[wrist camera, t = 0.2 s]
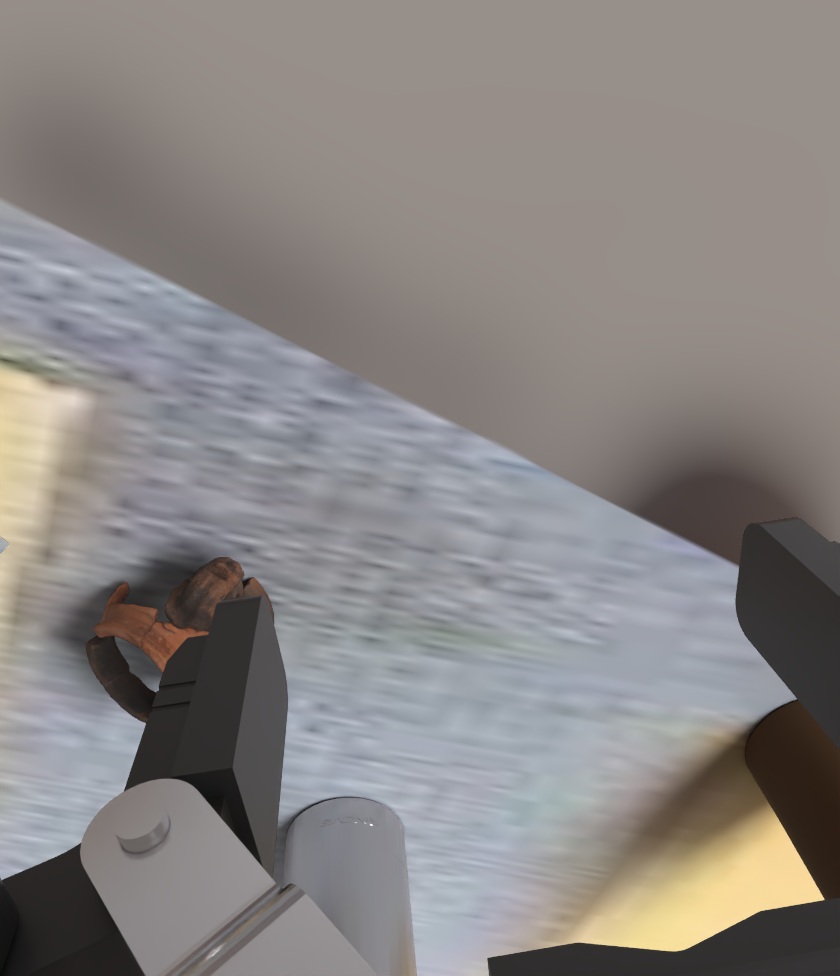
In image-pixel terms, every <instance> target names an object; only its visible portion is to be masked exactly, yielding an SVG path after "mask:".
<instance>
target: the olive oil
mask: <svg viewBox="0 0 840 976" xmlns="http://www.w3.org/2000/svg"><path fill="white" fill-rule="evenodd" d="M745 759H746V763H747V766H748V768H749V770H750V772H751V774H752V775H753V777H754V779H755V781H756V782H757V784H758V786H759V787H760V789H761V791H762V792H763V794H764V796H765V797H766V799H767V801H768V802H769V804H770V806H771V807H772V809H773V811H774V812H775V814H776V816H777V817H778V819H779V821H780V822H781V824H782V826H783V827H784V829H785V831H786V833H787V834H788V836H789V838H790V840H791V841H792V843H793V845H794V847H795V848H796V850H797V852H798V853H799V855H800V857H801V859H802V860H803V862H804V864H805V866H806V867H807V869H808V871H809V873H810V874H811V876H812V878H813V880H814V881H815V883H816V885H817V887H818V888H819V890H820V892H821V894H822V895H823V897H824V899H825V900H829V899H835V898H840V750H839V748H838V747H837V746H836V745H835V744H834V742H833V741H832V740H831V739H830V738H829V736H828V735H827V734H826V733H825V732H824V730H823V729H822V728H821V727H820V725H819V724H818V723H817V722H816V721H815V719H814V718H813V717H812V716H811V715H810V713H809V712H808V711H807V710H806V709H805V707H804V706H803V705H802V704H801V703H800V701H799V700H798V701H795V702H792V703H789V704H787V705H785V706H783V707H781V708H779V709H778V710H776V711H775V712H773V713H772V714H770V715H769V716H768V717H766V718H765V719H764V720H763V721H762V722H761V723H760V724H759V725H758V726H757V728H756V729H755V730H754V732H753V733H752V735H751V736H750V738H749V741H748V743H747V746H746V751H745Z"/></svg>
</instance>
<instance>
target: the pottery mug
mask: <svg viewBox="0 0 840 976" xmlns="http://www.w3.org/2000/svg"><path fill="white" fill-rule="evenodd" d="M243 576H244V572H243V570H242V568H241V566H240V564H239V563H238V562H236V561H234V560H232V559H231V558H229V557H219V558H216V559H214V560H212V561H210V562H209V563H208V564H206V565H205V566H203V567H201V568H200V569H199V570H198V571H197V573H196V574H194V575H193V577H192V578H191V579H187V580H185V581H184V582H183V583H182V584H181V585H179V586H178V587H176V588H175V589H174V590H173V591H172V592H171V594H170V597H169V600H168V602H167V604H166V606H165V614H166V616H167V618H168V619H169V620H170V621H171V622H169V623H164V622H159V621H158V620H157V619H158V615H159V611H158V609H156V608H152V607H145V606H140V605H135V604H128V605H126V604H121V603H122V602H123V601H124V600H125V599H126V597H127V596H128V592H129V588H128V583H127V582H124V583H123V584H122V585H121V586H119V587H118V588H117V589H116V591H115V593H114V594H113V595H111V597H110V598H109V600H108V603H107V606H106V608H105V610H104V613H103V616H102V622H101V623H99V624H97V625H96V626H94V631H95V632H96V634H97V636H96V637H94V638H92V639H91V640H90V641H88V642H87V643H86V650H87V656H88V659H89V662H90V665H91V667H92V669H93V672H94V674H95V675H96V677H97V679H98V680H99V681H100V683H101V684H102V685H103V686H104V688H105V690H106V691H107V692H108V694H109V695H110V697H111V698H113V699H114V700H115V701H116V702H117V703H118V704H119V705H120V706H121V707H122V708H123V709H124V710H125V711H127V712H128V713H129V714H130V715H132V716H133V717H135V718H137V719H138V720H140V721H142V722H145V723H147V720H148V717H149V714H150V712H152V705H153V702H154V699H155V696H156V693H155V692H154V691H152V690H150V689H149V688H147V686H146V685H145V684H144V683H143V682H142V681H141V680H140V679H139V678H138V677H136V676H135V675H134V674H131V673H130V672H129V665H128V663H127V662H126V660H125V658H124V657H123V656H122V654H121V652H120V651H119V649H118V647H117V645H116V643H115V638H114V636H117V637H119V638H122V639H125V640H127V641H128V642H130V643H132V644H134V645H136V646H137V647H139V648H141V649H142V650H143V651H144V652H145V653H146V654H147V655H148V656H149V657H150V658H151V659H152V660H153V662H154V663H155V664H156V665H157V667H158V668H159V669H160V670H161V672H162V673H163V671H164V668H165V665H166V662H167V660H168V659H169V658H170V657H171V656H172V655H173V654H174V652H175V651H176V650H177V649H178V648H179V647H180V645H181V644H182V643H183V642H184V641H185V640H186V639H187V638H188V637H195V636H202V635H208V634H209V630H210V626H211V622H212V618H213V615H214V611H215V607H216V604H217V603H218V602H219V601H225V600H232V599H239V598H246V597H253V596H260V595H265V596H266V598H267V600H268V603H269V607H270V611H271V615H272V619H273V623H274V612H273V609H272V606H271V602H270V600H269V597H268V595H267V593H266V592H265V591H264V589H263V588H262V586H261V585H260V584H259V582H258V581H257V580H256V579H255V578H250V579H249V580H248V581H247V584H246V585H245V586H244V587H243V584H242V579H243Z"/></svg>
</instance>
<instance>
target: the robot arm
mask: <svg viewBox="0 0 840 976" xmlns="http://www.w3.org/2000/svg"><path fill="white" fill-rule="evenodd" d="M736 612H737V617H738V621H739V624H740V626H741V628H742V631H743V632H744V634H745V636H746V637H747V638H748V640H749V641H750V642H751V643H752V645H753V646H754V647H755V648H756V649H757V651H758V652H759V653H760V654H761V655H762V657H763V658H764V659H765V660H766V661H767V663H768V664H769V665H770V666H771V667H772V669H773V670H774V671H775V672H776V674H777V675H778V676H779V677H780V678H781V680H782V681H783V682H784V683H785V684H786V686H787V687H788V688H789V689H790V690H791V692H792V693H793V694H794V695H795V696H796V698H797V699H798V700H799V701H800V703H801V704H802V705H803V706H804V707H805V709H806V710H807V711H808V712H809V713H810V715H811V716H812V717H813V718H814V719H815V721H816V722H817V723H818V724H819V725H820V727H821V728H822V729H823V730H824V732H825V733H826V734H827V735H828V736H829V738H830V739H831V740H832V741H833V742H834V744H835V745H836V746H837V747H838V748H839V750H840V544H839V543H837V542H835V541H834V542H829V541H828V540H827V539H826V538H824V537H823V536H822V535H821V534H819V533H818V532H817V531H816V530H815V529H813V528H812V527H811V526H810V525H808V524H807V523H806V522H805V521H803V520H802V519H800V518H798V517H791V518H784V519H777V520H771V521H764V522H756V523H751V524H749V525H748V526H747V527H746V529H745V531H744V534H743V540H742V549H741V557H740V566H739V575H738V583H737V592H736ZM287 711H288V692H287V682H286V675H285V669H284V665H283V661H282V657H281V652H280V648H279V644H278V640H277V636H276V632H275V627H274V623H273V619H272V615H271V611H270V607H269V603H268V600H267V598H266V596H265V595H260V596H253V597H246V598H239V599H232V600H225V601H219V602H218V603H217V604H216V607H215V611H214V615H213V618H212V622H211V626H210V630H209V634H208V635H202V636H195V637H188V638H187V639H186V640H185V641H184V642H183V643H182V644H181V645H180V647H179V648H178V649H177V650H176V651H175V652H174V654H173V655H172V656H171V657H170V658H169V659H168V660H167V662H166V665H165V668H164V671H163V674H162V677H161V681H160V684H159V691H157V693H156V696H155V699H154V702H153V705H152V712H150V714H149V717H148V720H147V723H146V726H145V729H144V732H143V735H142V738H141V741H140V744H139V747H138V750H137V753H136V756H135V759H134V762H133V765H132V768H131V772H130V775H129V778H128V781H127V784H126V787H125V790H124V792H123V793H121V794H119V795H118V796H117V797H115V798H114V799H112V800H111V801H110V802H109V803H108V804H106V805H105V806H104V807H103V808H102V809H101V810H100V811H99V812H98V814H97V815H96V816H95V817H94V818H93V820H92V821H91V823H90V824H89V826H88V828H87V830H86V832H85V834H84V836H83V839H82V842H81V843H80V844H79V845H77V846H75V847H74V848H72V849H70V850H69V851H67V852H65V853H63V854H61V855H59V856H57V857H55V858H53V859H50V860H48V861H46V862H43V863H41V864H39V865H36V866H34V867H32V868H29V869H27V870H25V871H22V872H20V873H18V874H15V875H13V876H11V877H8V878H6V879H4V880H1V878H0V976H417V971H416V960H415V949H414V939H413V928H412V917H411V906H410V895H409V884H408V871H407V860H406V850H405V840H404V830H403V825H402V823H401V821H400V819H399V818H398V817H397V815H396V814H395V813H394V812H393V811H391V810H390V809H389V808H387V807H386V806H384V805H382V804H379V803H377V802H375V801H371V800H367V799H362V798H337V799H333V800H328V801H324V802H322V803H319V804H316V805H314V806H312V807H310V808H309V809H307V810H305V811H304V812H302V813H301V814H300V815H299V816H298V817H297V818H296V819H295V820H294V821H293V823H292V824H291V825H290V827H289V830H288V832H287V835H286V847H285V860H284V872H283V884H282V888H281V887H280V886H279V885H278V884H276V882H275V881H274V880H273V869H274V858H275V847H276V835H277V824H278V813H279V802H280V790H281V779H282V768H283V756H284V745H285V734H286V722H287ZM487 959H488V969H489V976H840V898H835V899H829V900H823V901H817V902H812V903H806V904H800V905H794V906H788V907H782V908H777V909H771V910H765V911H760V912H758V913H756V914H754V915H752V916H750V917H749V918H747V919H745V920H743V921H741V922H739V923H737V924H735V925H733V926H731V927H729V928H727V929H725V930H723V931H721V932H719V933H717V934H716V935H714V936H712V937H710V938H708V939H706V940H704V941H702V942H700V943H698V944H696V945H694V946H692V947H690V948H688V949H686V950H683V951H677V952H671V951H659V950H649V949H638V948H628V947H618V946H607V945H597V944H586V943H573V944H567V945H561V946H555V947H549V948H544V949H538V950H532V951H526V952H520V953H514V954H509V955H503V956H497V957H491V958H487Z"/></svg>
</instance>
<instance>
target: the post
mask: <svg viewBox="0 0 840 976" xmlns="http://www.w3.org/2000/svg"><path fill="white" fill-rule="evenodd" d="M8 545H9V543H8V542H6V541H5V540H4V539H2V538H1V537H0V553H2V552H3V551H4V550H5V548H6V547H7V546H8Z"/></svg>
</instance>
